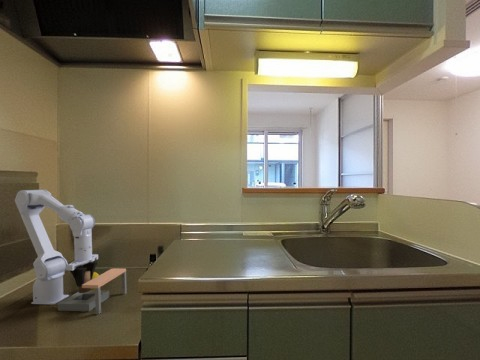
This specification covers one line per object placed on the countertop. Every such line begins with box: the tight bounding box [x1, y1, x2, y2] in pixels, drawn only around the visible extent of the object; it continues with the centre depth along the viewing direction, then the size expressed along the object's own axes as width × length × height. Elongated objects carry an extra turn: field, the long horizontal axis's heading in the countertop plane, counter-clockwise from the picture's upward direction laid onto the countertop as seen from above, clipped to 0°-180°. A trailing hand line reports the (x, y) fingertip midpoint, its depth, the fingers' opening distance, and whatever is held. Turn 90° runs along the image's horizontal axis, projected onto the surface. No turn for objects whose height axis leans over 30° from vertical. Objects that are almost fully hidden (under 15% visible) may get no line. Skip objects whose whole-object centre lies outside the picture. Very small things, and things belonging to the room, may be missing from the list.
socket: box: [57, 290, 110, 312], centre depth 104 cm, size 12×12×2 cm
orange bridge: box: [82, 267, 128, 315], centre depth 104 cm, size 6×18×10 cm, turn 173°
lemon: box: [91, 271, 100, 290], centre depth 117 cm, size 6×6×8 cm
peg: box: [77, 271, 91, 293], centre depth 104 cm, size 4×4×7 cm
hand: (84, 283), depth 104 cm, fingers closed on peg, 4 cm apart
